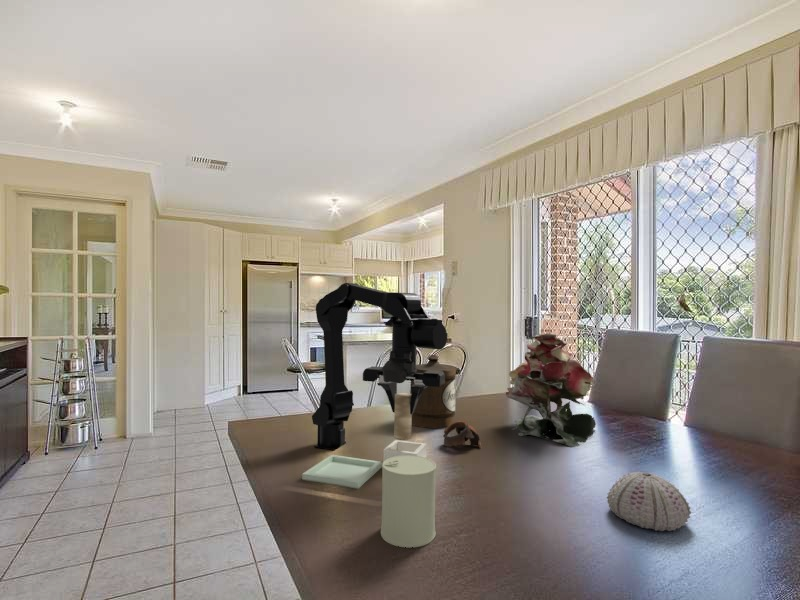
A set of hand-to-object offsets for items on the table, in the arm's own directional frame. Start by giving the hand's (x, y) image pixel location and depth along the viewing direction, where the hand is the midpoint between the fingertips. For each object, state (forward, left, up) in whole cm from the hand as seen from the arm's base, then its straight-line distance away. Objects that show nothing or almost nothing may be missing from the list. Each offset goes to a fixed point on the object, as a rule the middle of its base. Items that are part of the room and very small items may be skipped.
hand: (403, 413), depth 105 cm
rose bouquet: (+31, +48, -13) cm, 59 cm away
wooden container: (-4, +42, -13) cm, 45 cm away
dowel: (0, 0, -6) cm, 6 cm away
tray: (-10, -10, -13) cm, 19 cm away
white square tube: (+1, 0, -13) cm, 13 cm away
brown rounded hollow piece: (+10, +20, -13) cm, 26 cm away
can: (+11, -28, -13) cm, 32 cm away
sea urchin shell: (+50, -7, -13) cm, 52 cm away
